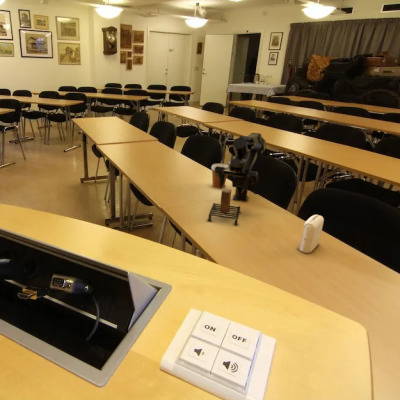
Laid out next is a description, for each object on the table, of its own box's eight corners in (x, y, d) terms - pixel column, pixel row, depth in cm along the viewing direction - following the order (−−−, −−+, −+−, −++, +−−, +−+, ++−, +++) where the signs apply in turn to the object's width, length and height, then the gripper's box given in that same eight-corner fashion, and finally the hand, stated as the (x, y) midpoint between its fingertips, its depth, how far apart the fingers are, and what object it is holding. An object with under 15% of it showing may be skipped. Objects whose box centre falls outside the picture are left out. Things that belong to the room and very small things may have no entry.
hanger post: (221, 209, 142) (224, 187, 138) (229, 211, 140) (231, 189, 136) (219, 212, 140) (221, 190, 135) (227, 214, 138) (229, 191, 133)
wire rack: (213, 208, 151) (213, 202, 150) (239, 212, 147) (240, 206, 145) (208, 221, 139) (208, 214, 138) (236, 225, 135) (237, 219, 134)
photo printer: (309, 254, 113) (316, 223, 108) (296, 250, 116) (303, 219, 111) (319, 244, 119) (327, 214, 115) (307, 240, 122) (314, 210, 118)
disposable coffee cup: (220, 190, 172) (223, 169, 167) (206, 186, 179) (207, 165, 174) (230, 186, 178) (233, 165, 173) (216, 182, 184) (218, 162, 180)
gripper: (217, 148, 144) (206, 178, 140) (260, 153, 134) (250, 186, 130) (221, 161, 153) (211, 190, 149) (262, 166, 143) (252, 197, 139)
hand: (230, 190), depth 142 cm, fingers open, 9 cm apart
